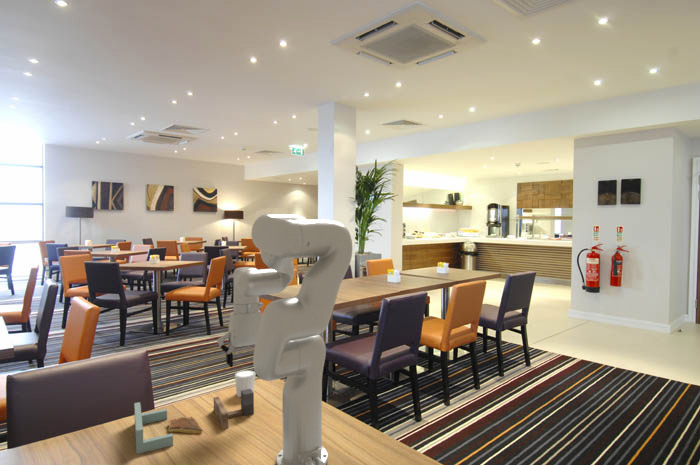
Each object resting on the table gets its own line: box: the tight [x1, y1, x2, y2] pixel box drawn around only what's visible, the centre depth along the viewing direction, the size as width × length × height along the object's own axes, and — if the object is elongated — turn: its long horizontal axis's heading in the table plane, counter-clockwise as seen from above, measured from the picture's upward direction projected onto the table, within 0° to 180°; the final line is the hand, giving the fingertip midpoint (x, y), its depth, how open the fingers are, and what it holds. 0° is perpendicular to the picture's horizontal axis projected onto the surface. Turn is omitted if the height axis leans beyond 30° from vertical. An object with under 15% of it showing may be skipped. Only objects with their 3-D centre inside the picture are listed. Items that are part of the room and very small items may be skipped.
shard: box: [167, 416, 203, 434], centre depth 116 cm, size 11×8×2 cm
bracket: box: [133, 401, 174, 455], centre depth 114 cm, size 18×8×6 cm, turn 29°
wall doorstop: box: [213, 389, 255, 429], centre depth 125 cm, size 13×10×6 cm
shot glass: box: [234, 369, 256, 398], centre depth 140 cm, size 7×7×7 cm
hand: (246, 362), depth 126 cm, fingers open, 9 cm apart
